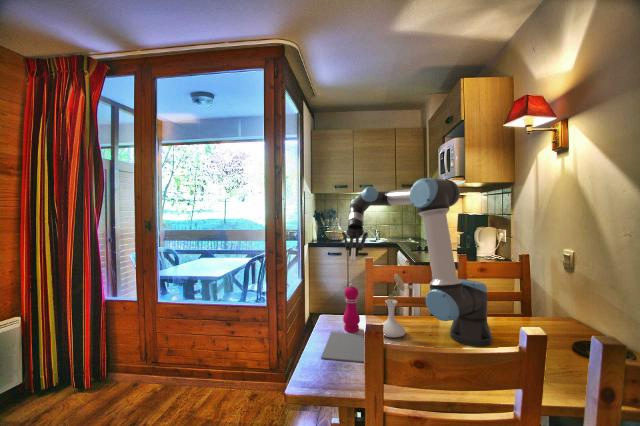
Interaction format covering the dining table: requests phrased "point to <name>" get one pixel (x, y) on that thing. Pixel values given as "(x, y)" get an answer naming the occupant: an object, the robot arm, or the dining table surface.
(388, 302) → the flower in vase
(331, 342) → the mat
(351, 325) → the pepper mill
